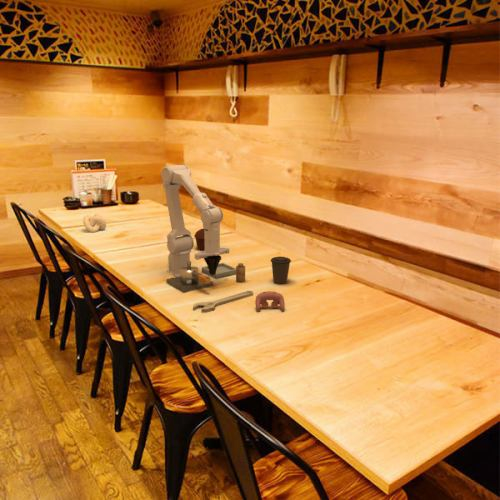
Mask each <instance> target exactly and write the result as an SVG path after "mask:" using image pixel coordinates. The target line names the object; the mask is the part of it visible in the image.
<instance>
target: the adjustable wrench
mask: <svg viewBox="0 0 500 500" xmlns="http://www.w3.org/2000/svg"><path fill="white" fill-rule="evenodd" d="M252 296H254V291H252V290H246V291H243V292H240V293H236V294H233V295H230V296H226V297H223V298H219V299H216V300H213V301H204V302H203V301H202V302H201V301H200V302H196V303H194V304H193V305H192V310H193V311H197V309H201V312H200V313H203V314H204V313H209V312H213V311H215V310H216V308H218V306H222V305H225V304H229V303H233V302H235V301H240V300H242V299H246V298H250V297H252Z"/></svg>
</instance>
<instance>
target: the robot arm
mask: <svg viewBox="0 0 500 500" xmlns="http://www.w3.org/2000/svg"><path fill="white" fill-rule="evenodd" d="M160 175H161V180H162V187H163V188H164V192H165V193H164V194H165V197H166V198H165V199H166V203H167V204H166V205H167V209H168V216H169V221H170V228H171V230H170V232H169V233H168V234H167V236H166V238H167V242H166V247H167V248H166V249H167V250H168V252H169V253H168V256H167V257H168V259H167V263H168V269H167V270H166V272H168V273H170V274H171V275H173V276H174V277H179V276H180V269H181V268H182V267H187V261H191V257H190V256H191V253H192V250H193V248H194V246H195V241H194V239H193V236H192V232H191V231H190V230H189V229H187V228H186V227H185V222H184V215H183V209H182V203H181V198H180V191H179V189H180V188H181V187H182V186H183V187H184V189H185V190H186V191H187V192H188V193H189V195H190V196H191V197H192V203H193V205H194V207H195V208H196V209H197V210H198V212H199V213H200V220H201V222H202V223H201V224H202V229H203V228H204V237H205V250H204V251H199V252H197V253H194V259H195V260H197V261H199V260H201V259H203V260H204V262H205V264H206V266H208V269H209V273H210V274H211V275H215V274H216V270H217V267H218V264H219V263H221V260H222V256H221V255H225V254H227V255H228V254H230V248H229V247H221V242H220V241H221V236H220V235H221V233H220V231H221V225H220V223H221V222H222V221H223V219H224V213H223V210H222V209H221V208H220V207H218V206H216V205H214V204H213V202H212V201H211V200H210V198H209V197H208V195H207V194H206V193H205V192H201V191H200V190H199V189H200V188H199V187H198V185H197V184H196V182H195V181H194V179H193V177H192V171H191V169H190V168H189V166H188V165H187V164H178V165H177V164H176V165H165V166H164V167H163V168H162V170H161V172H160Z"/></svg>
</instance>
